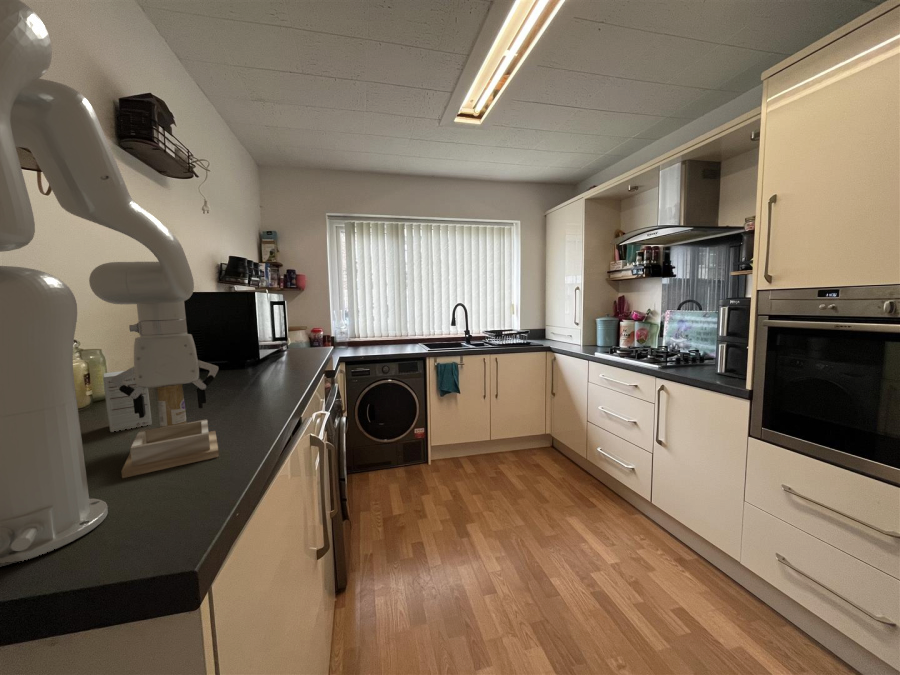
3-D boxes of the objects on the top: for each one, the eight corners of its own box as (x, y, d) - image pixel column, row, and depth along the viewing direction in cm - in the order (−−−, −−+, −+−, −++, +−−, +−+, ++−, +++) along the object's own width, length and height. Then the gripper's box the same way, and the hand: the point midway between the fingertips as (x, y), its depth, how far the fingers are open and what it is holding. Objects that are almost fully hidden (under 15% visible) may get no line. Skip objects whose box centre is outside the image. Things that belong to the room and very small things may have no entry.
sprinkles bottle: (187, 438, 74) (181, 374, 73) (159, 444, 72) (152, 377, 71) (188, 432, 78) (182, 371, 77) (162, 437, 76) (155, 374, 75)
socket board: (218, 456, 65) (216, 433, 64) (122, 478, 57) (119, 452, 57) (215, 436, 75) (214, 416, 75) (133, 452, 68) (131, 430, 68)
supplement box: (109, 425, 85) (103, 372, 84) (150, 418, 90) (144, 368, 89) (108, 433, 79) (102, 376, 78) (152, 425, 84) (146, 371, 83)
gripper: (101, 333, 65) (112, 425, 67) (215, 327, 75) (222, 407, 77) (109, 331, 71) (120, 415, 73) (214, 325, 81) (221, 400, 83)
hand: (172, 411), depth 75 cm, fingers open, 9 cm apart
